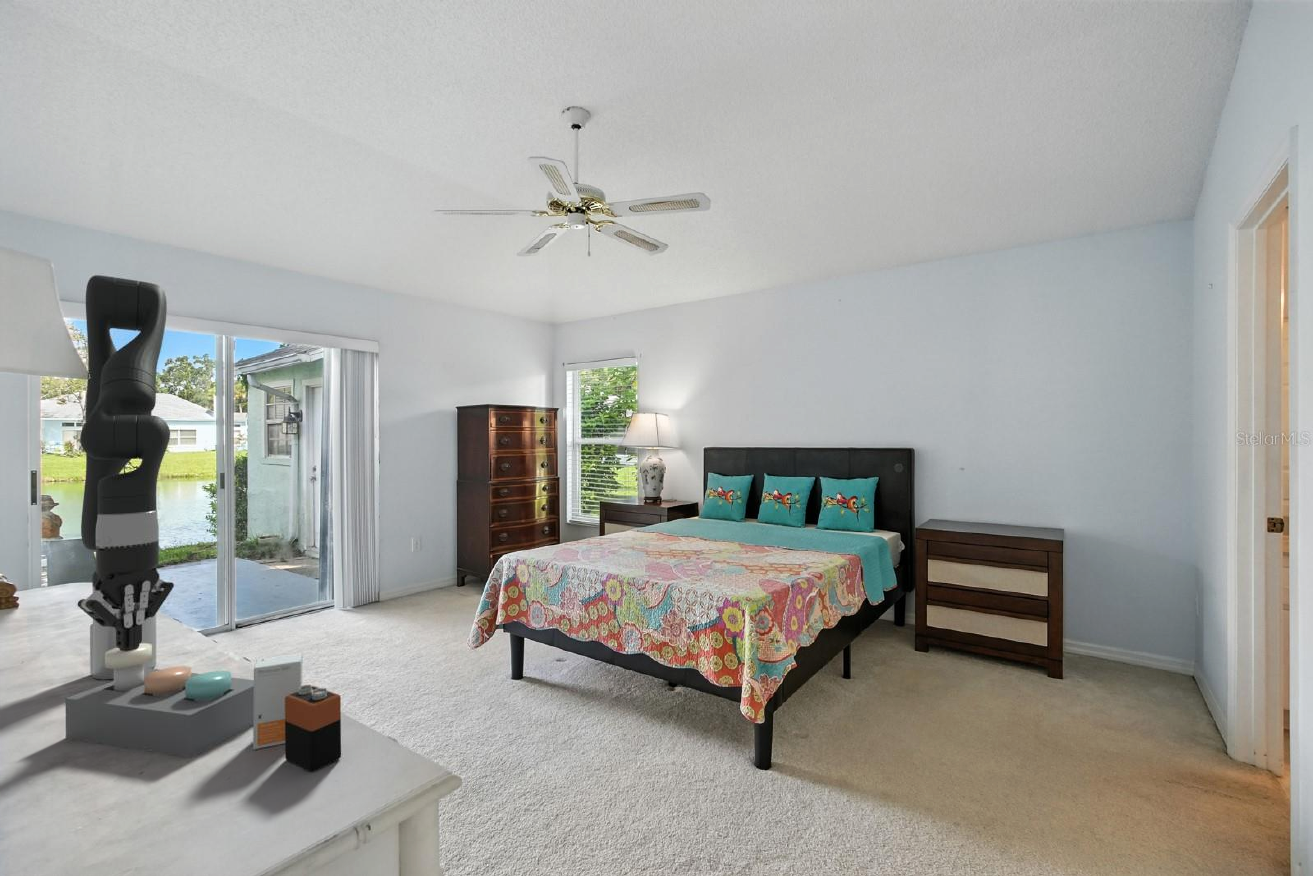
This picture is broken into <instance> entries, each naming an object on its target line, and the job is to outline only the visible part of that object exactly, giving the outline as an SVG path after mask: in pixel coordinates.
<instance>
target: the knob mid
mask: <svg viewBox="0 0 1313 876" xmlns="http://www.w3.org/2000/svg"><path fill="white" fill-rule="evenodd" d="M191 670H192V669H191V667H190V666H183V665H182V666H171V667H167V668H161V669H160V670H158V671H155V672H152V673H150V674H148V675H146V676H145V678H144V691H145V693H149V694H153V696H159V697H166V696H168V695H171V694H173V693H176V692H178V691H181V690H183V687H185V682H186V681H187V680H188V679H189V678H191V673H192V671H191Z"/></svg>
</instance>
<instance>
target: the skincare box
mask: <svg viewBox="0 0 1313 876" xmlns="http://www.w3.org/2000/svg"><path fill="white" fill-rule="evenodd" d="M303 658H304V654H303V653H302V652H299V653H292V654H283V655H282V654H281V655H276V656H273V657H265V658H258V659H256V662H255V665H254V668H253V680H254V717H253V725H252V726H253V732H252V733H253V737H252V738H253V740H252V741H253V745H252V747H253V750H258V749H263V748H268V747H273V746H279V745H284V744H285V697H286V696H287V695H290V694H292V693H295V692H298V691H299V688H300V687H301V686H303V667H304V666H303Z"/></svg>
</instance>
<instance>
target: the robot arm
mask: <svg viewBox="0 0 1313 876" xmlns="http://www.w3.org/2000/svg"><path fill="white" fill-rule="evenodd" d="M167 304H168V303H167V296H166V292H165V291H164V289H163V288H162V286H160V285H158V284H156V283H152V282H146V281H142V280H141V281H140V280H135V279H129V278H128V279H127V278H122V277H116V276H108V275H99V274H96V275H92V276H91V277H90V278H89V280H88V281H87V285H86V290H85V316H86V333H87V335H86V337H87V353H88V354H87V355H88V357H87V358H88V365H87V366H88V367H87V386H86V399H85V400H86V401H85V423H84V424H83V427H82V429H81V432H80V437H79V438H80V439H79V442H80V445H81V448H82V450H83V451H84V453H85V458H86V459H85V461H86V462H85V464H86V465H85V480H84V481H85V482H84V491H83V500H82V511H81V521H80V523H81V524H80V534H81V541H82V545H83V546H84V547H85V548H86V549H88V550H89V551H95V570H94V572H93V573H92V577H91V579H92V593H91V594H90V595H89V596H87V598H86V599H84V598H82V599H79V600H78V602H77V606H78V608H80V609H81V610H82V611H83V612H84V613H85V614H87V615H88V616H89V617H90V618H91V619H92V623H91V624H90V626H89V643H90V644H89V649H90V650H89V655H90V657H89V659H90V660H89V661H90V662H89V663H90V664H89V665H90V666H89V668H90V675H92V677H93V678H94V679H96V680H114V669H109V668H105V653H106V652H107V651H109V650H111V649H114V648H119V649H120V650H121V651H130V650H133V649H136V648H139V644H141V643H148V644H151V645H152V659H151V660H149V661H147V662H145V663H144V670H146V669H149V668H152V669H154V668H155V667H156V666H157V613H158V611H159V610H160V608H161V606H162V605H164V603H165V601H166V599H167V598H168V596H169V595H170V593H171V592H172V591H173V588H174V587H175V584H174V583H173V582H172V581H171V582H170V581H164V580H163V579H161V578H160V573H159V572H158V569H157V567H158V566H159V564H160V548H159V547H160V538H159V536H160V535H159V534H160V533H159V532H160V531H159V530H160V529H159V518H158V509H157V485H158V477H159V472H160V469H161V465H162V461H163V459H164V456H165V453H166V451H167V449H168V445H169V443H170V438H171V430H170V426H169V425H168V423H167V422H166V421H165V420H164V418H161V417H160V416H158V415H157V416H156V415H152V412H153V410H154V409H155V407H156V403H157V400H156V399H157V369H158V368H157V367H158V362H159V359H160V358H159V357H160V355H161V354H160V353H161V350H162V346H163V340H164V334H165V329H166V321H167V310H168V309H167ZM111 329H114V330H115V329H117V330H123V331H124V330H125V331H134V332H139V333H138V334H137V335H136V336H135V337H134V338H133V339H132V340H130V341H129V342H128V343H126V344H125V345H124V346H122V347H121V348H119V349H118V350H117V349H116V346H115V344H114V342H113V339H112V336H111V331H110V330H111ZM88 372H89V373H88ZM89 374H90V377H91V378H90V379H88V378H89ZM131 460H141V463H140V465H139V466H138V467H136V468H135V469H133V470H131V471H127V472H123V473H121V472H122V471H123V469H124V468H125V467H126V466H127V464H128V463H130V461H131Z"/></svg>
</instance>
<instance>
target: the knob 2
mask: <svg viewBox="0 0 1313 876" xmlns="http://www.w3.org/2000/svg"><path fill="white" fill-rule="evenodd" d="M198 674H199V675H196V676H193V677H191V678H189V679H188V680H187V681H186V682H185V696H186V698H189V699H194V701H198V702H208V701H211V700H213V699H215V698H217V697H220V696H222V695H223V693H224V692H226V691H228V690H229V689H230V688H231V678H232V672H231V671H228V670H214V671H208V672H204V673H203V672H202V673H198Z"/></svg>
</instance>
